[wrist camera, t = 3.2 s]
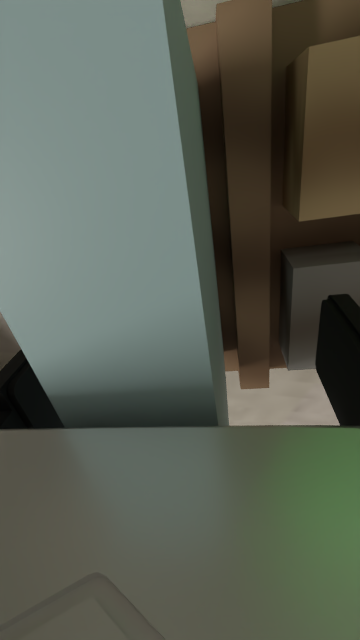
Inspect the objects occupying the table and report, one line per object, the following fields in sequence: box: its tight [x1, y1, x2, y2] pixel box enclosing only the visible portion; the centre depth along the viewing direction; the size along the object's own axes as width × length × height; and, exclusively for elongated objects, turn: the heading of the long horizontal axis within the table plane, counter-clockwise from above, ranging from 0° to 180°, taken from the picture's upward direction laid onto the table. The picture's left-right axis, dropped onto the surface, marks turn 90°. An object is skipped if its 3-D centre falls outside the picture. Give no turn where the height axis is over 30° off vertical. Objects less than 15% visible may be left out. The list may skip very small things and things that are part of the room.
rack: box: [186, 0, 360, 389], centre depth 17 cm, size 20×16×3 cm
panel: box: [0, 0, 229, 428], centre depth 12 cm, size 16×3×14 cm, turn 9°
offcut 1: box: [283, 36, 360, 222], centre depth 13 cm, size 6×4×4 cm, turn 9°
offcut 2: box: [279, 241, 360, 370], centre depth 18 cm, size 7×4×3 cm, turn 9°
